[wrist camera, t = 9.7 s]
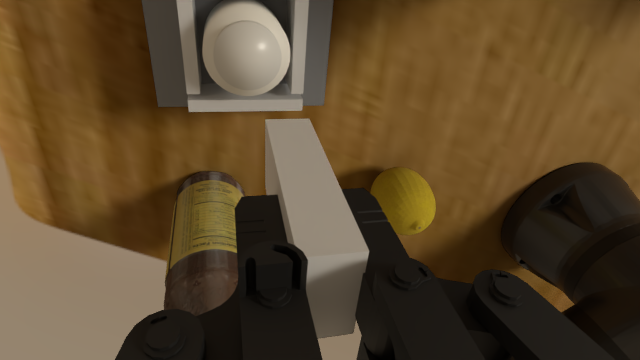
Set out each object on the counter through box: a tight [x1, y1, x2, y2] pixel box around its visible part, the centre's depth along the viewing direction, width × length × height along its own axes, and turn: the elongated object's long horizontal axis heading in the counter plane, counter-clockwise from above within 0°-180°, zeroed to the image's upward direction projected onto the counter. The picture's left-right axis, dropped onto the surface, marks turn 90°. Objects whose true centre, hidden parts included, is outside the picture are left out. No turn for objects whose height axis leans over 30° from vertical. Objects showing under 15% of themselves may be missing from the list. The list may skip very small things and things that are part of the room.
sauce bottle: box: [164, 171, 245, 316], centre depth 28 cm, size 6×6×20 cm
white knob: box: [202, 0, 290, 96], centre depth 24 cm, size 5×5×5 cm
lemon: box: [370, 167, 436, 235], centre depth 36 cm, size 6×6×8 cm
